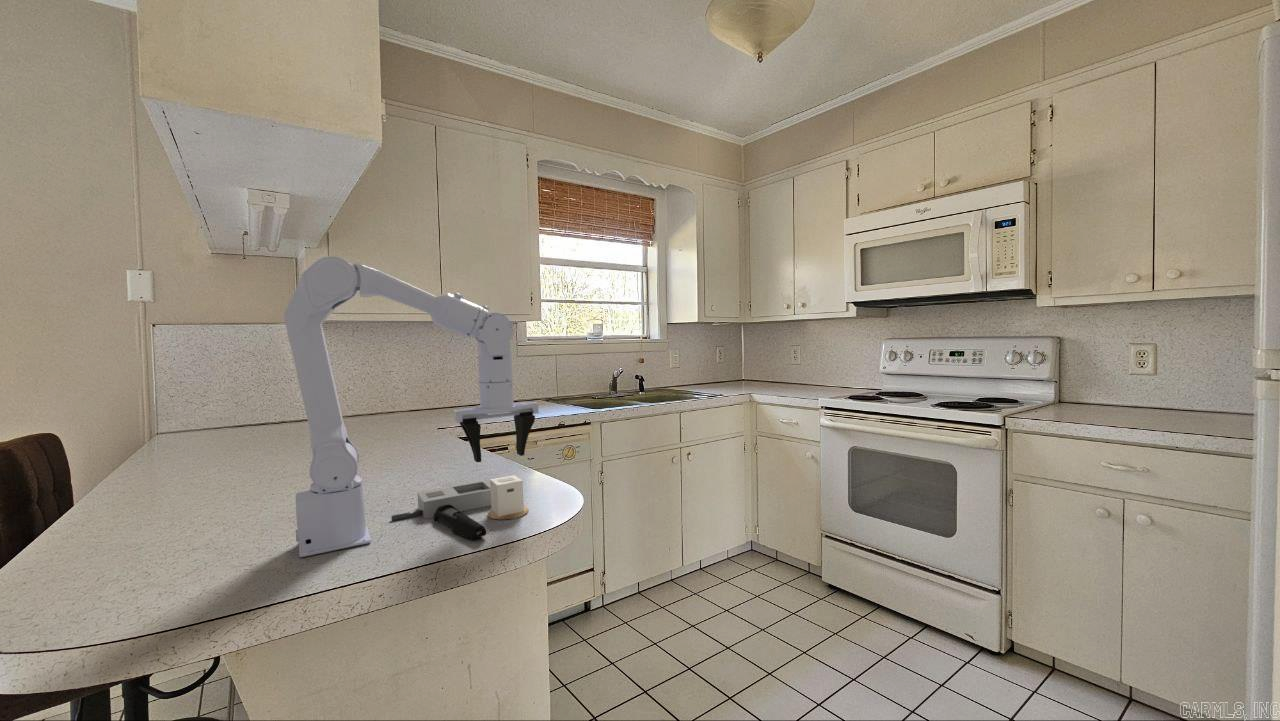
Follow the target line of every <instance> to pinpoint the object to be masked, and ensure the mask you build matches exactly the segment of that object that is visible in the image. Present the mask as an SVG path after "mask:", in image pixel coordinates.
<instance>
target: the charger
mask: <svg viewBox="0 0 1280 721" xmlns="http://www.w3.org/2000/svg"><path fill="white" fill-rule="evenodd" d="M494 478H495V479H493V478H490V479H489V480H490V490H491V506H490V507H491V509H492V510H493V511H494V512H495V513H496V514H497V515H498V516H504V515H509V514H513V513H518V512H523V511H524V505H525V503H524V485H523V484H524V483H523V480H522V478H520V477H518V476H516V475H515V474H513V475H507V476H502V477H501V478H499V477H494ZM491 509H490V510H491Z"/></svg>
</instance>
